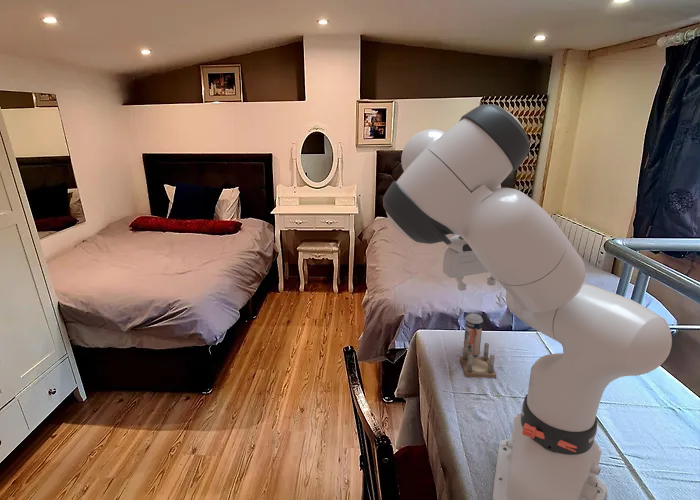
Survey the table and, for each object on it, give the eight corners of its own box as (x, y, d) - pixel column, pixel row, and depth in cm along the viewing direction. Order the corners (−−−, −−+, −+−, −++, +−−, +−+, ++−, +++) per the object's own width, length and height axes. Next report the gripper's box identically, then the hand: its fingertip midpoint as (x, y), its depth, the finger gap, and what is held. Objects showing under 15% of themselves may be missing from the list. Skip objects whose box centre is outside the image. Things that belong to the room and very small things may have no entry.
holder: (496, 378, 99) (498, 358, 97) (465, 377, 100) (467, 357, 98) (488, 360, 107) (490, 342, 105) (459, 359, 107) (461, 341, 105)
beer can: (459, 349, 112) (462, 314, 108) (473, 346, 113) (476, 311, 110) (469, 358, 108) (472, 321, 104) (483, 355, 109) (486, 318, 105)
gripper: (505, 232, 105) (500, 277, 109) (440, 240, 100) (438, 287, 104) (521, 238, 99) (515, 286, 104) (453, 247, 94) (450, 297, 98)
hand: (476, 287), depth 104 cm, fingers open, 8 cm apart
